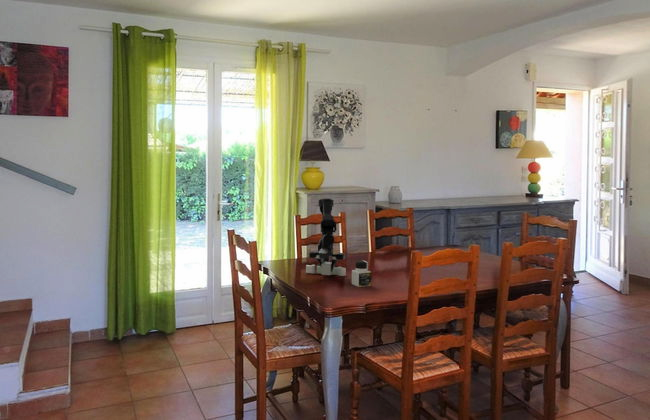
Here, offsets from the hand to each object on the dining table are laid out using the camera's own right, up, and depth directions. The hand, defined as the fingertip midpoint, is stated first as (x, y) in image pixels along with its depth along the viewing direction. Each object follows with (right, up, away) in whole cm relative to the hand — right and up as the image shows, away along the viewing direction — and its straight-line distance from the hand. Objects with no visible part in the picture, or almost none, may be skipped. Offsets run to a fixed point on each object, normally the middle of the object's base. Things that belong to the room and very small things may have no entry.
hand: (327, 271), depth 284 cm
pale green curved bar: (0, -2, +5) cm, 5 cm away
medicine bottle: (+17, -5, -18) cm, 25 cm away
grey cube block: (0, -1, 0) cm, 1 cm away
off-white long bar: (-1, -2, +6) cm, 6 cm away
